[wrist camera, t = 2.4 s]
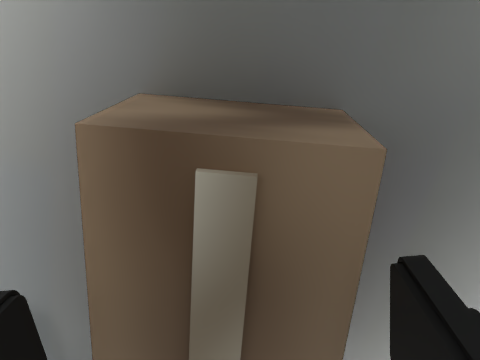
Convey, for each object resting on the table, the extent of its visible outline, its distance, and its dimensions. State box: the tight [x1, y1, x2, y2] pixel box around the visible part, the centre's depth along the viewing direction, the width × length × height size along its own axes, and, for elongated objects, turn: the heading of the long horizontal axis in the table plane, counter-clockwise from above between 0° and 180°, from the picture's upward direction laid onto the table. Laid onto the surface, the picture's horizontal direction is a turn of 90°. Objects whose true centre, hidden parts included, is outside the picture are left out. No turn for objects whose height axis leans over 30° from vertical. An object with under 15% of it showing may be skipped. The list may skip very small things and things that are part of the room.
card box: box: [75, 93, 387, 360], centre depth 11 cm, size 6×9×5 cm, turn 176°
